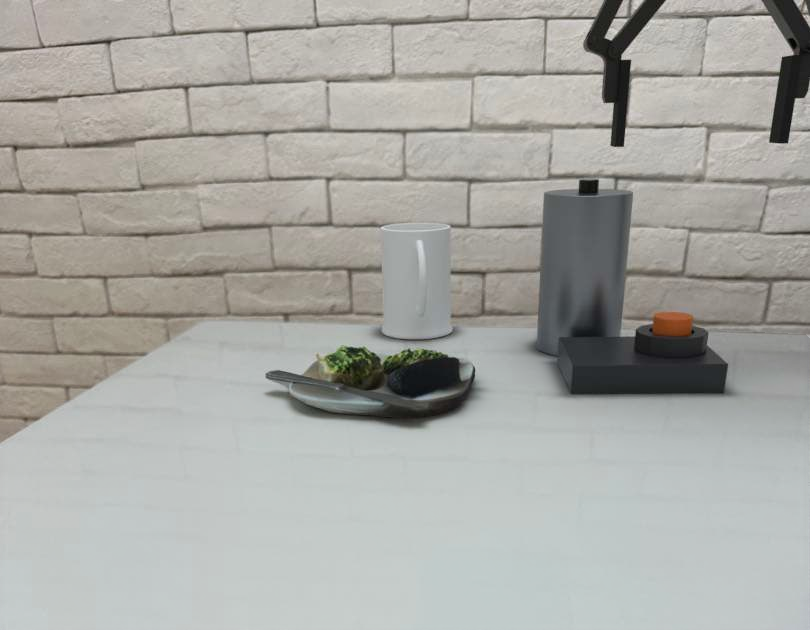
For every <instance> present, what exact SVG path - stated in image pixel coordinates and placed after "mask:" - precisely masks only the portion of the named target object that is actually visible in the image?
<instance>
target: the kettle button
mask: <svg viewBox="0 0 810 630" xmlns="http://www.w3.org/2000/svg"><path fill="white" fill-rule="evenodd" d="M652 324H653V329H652V333H655V334H659V335H668V336H685V335H691V332H692V326H693V324H694V316H693V315H692V314H690V313H686V312H681V311H680V312H679V311H661V312H657V313H655V314H654V315H653V321H652Z"/></svg>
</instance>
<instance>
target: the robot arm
mask: <svg viewBox="0 0 810 630" xmlns="http://www.w3.org/2000/svg"><path fill="white" fill-rule="evenodd" d="M666 1H667V0H643V1H642V2H641V3H640V4H639V6H638V7H637V8H636V9H635V10H634V12H633V13H632V14H631V15H630V17H629V18H628V19H627V21H626V22H625V23H624V24H623V26H622V27H621V28H620V29H619V30H618V32H617V33H616V34H615V35H614V37H613V38H612V39H608V38H606V36H607V34H608V32H609V30H610V27H611V26H612V24H613V22H614V20H615V18H616V16H617V15H618V12H619V10H620V8H621V6H622V3H623V2H624V0H603V1H602V3H601V6H600V8H599V9H598V11H597V14H596V16H595V18H594V20H593V22H592V24H591V26H590V28H589V30H588V32H587V34H586V36H585V38H584V40H583V43H582V47H583V50H584V51H585V52H587V53H590V54H593V55H596V56H598V57H600V58H601V60H602V62H603V74H602V85H601V86H602V88H601V99H602V102H603V104H613V106H612V107H613V108H612V120H611V133H610V147H613V148H624V147H625V140H626V139H625V137H626V126H627V116H628V115H627V113H628V103H629V102H628V101H629V91H630V79H631V67H632V66H631V65H632V59H622V58H623V57H622V55H623V54H624V53H625V52H626V50H627V49H628V48H629V47H630V45H631V44H632V43H633V42H634V41H635V39H636V38H637V37H638V35H639V34H640V33H641V32H642V31H643V29H644V28H645V27H646V26H647V24H648V23H649V22H650V21H651V19H653V17H654V16H655V15H656V14H657V12H658V11H659V10H660V8H661V7H662V6H663V5H664V3H665V2H666ZM761 2H762V4H763V5H764V7H765V9H766V11H767V12H768V13H769V15H770V17H771V19H772V20H773V22H774V24H775V25H776V27H777V28H778V30H779V31H780V33H781V34H782V37H783V38H784V40H785V42H786V44H788V47H789V48H790V49H791V51H792V52H793V54H792V55H785V56H781V60H780V66H779V67H780V69H779V74H778V79H777V80H778V81H777V87H776V93H775V98H774V106H773V111H772V112H773V113H772V119H771V126H770V133H769V140H768V143H769V144H789V140H790V133H791V128H792V122H793V114H794V108H795V102H796V99H805V98H806V96H807V95H808V92H809V88H810V25H809V23H808V21H807V20H806V18H805V17H804V14H802V12H801V10H800V8H799V7H798V5H797V3H796V2H795V0H761ZM804 2H805V5H806V10H807V13H808V16H809V17H810V0H804Z"/></svg>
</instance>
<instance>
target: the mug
mask: <svg viewBox="0 0 810 630" xmlns="http://www.w3.org/2000/svg"><path fill="white" fill-rule="evenodd" d="M451 229H452V227H451V225H450V224H448V223H447V224H446V223H441V222H439V223H438V222H400V223H392V224H391V223H390V224H386V225H383V226H381V227H380V251H381V252H380V254H381V256H380V258H381V283H382V285H381V287H382V325H381V333H382V334H383V335H385V336H387V337H388V338H395V339H399V340H428V339H429V340H430V339H437V338H442V337H445V336H447V335H450V334H451V333H452V332H453V326H452V315H451V312H452V311H451V280H452V279H451V278H452V277H451V273H452V272H451V270H452V268H451V267H452V265H451V264H452V263H451V262H452V261H451V259H452V258H451V255H452V254H451V253H452V252H451V250H452V249H451V246H452V245H451V244H452V243H451V241H452V237H451V235H452V233H451V232H452V230H451Z"/></svg>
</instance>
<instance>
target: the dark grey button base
mask: <svg viewBox="0 0 810 630" xmlns="http://www.w3.org/2000/svg"><path fill="white" fill-rule="evenodd" d="M652 329H653V323H650V324H644V325H640V326H639V327H637V328H636V329H635V333H634V336H620V337H559V340H558V356H556V359H557V360H556V364H557V366H558V368H559V370H560V372H561V375H562V377H563V380H564V381H565V384H566V386H567V388H568V391H569V393H570V394H571V395H581V394H583V395H584V394H587V395H594V394H595V395H596V394H598V395H599V394H600V395H601V394H602V395H603V394H605V395H606V394H608V395H609V394H714V393H715V394H718V393H719V394H721V393H722V394H724V393H725V390H726V389H725V388H726V383H727V382H726V381H727V375H728V371H729V370H728V369H729V363H728V362H727V361H726V360H724V358H722V357H721V356H720V355H719V354H718V353H716V351H714V349H712V348H711V347H710V346H709V345H708V341H709V340H708V339H709V334H710V333H709V331H707V329H705V328H703V327H700V326H696V325H692V332H691V335H685V336H668V335H659V334H655V333H652Z"/></svg>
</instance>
